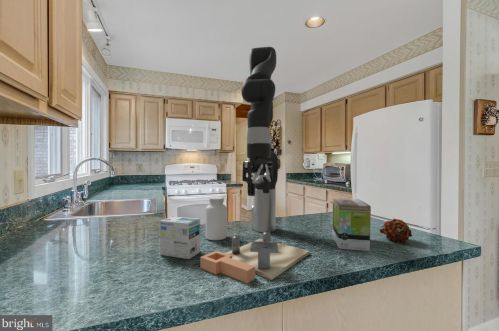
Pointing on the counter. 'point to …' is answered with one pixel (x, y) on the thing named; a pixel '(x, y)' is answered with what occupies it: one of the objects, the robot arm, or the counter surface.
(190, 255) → the light bulb box
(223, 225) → the pill bottle
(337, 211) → the tea box
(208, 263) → the link
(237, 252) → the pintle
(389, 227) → the pine cone
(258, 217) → the robot arm
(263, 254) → the block
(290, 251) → the board
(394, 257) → the counter surface
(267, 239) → the cylinder
